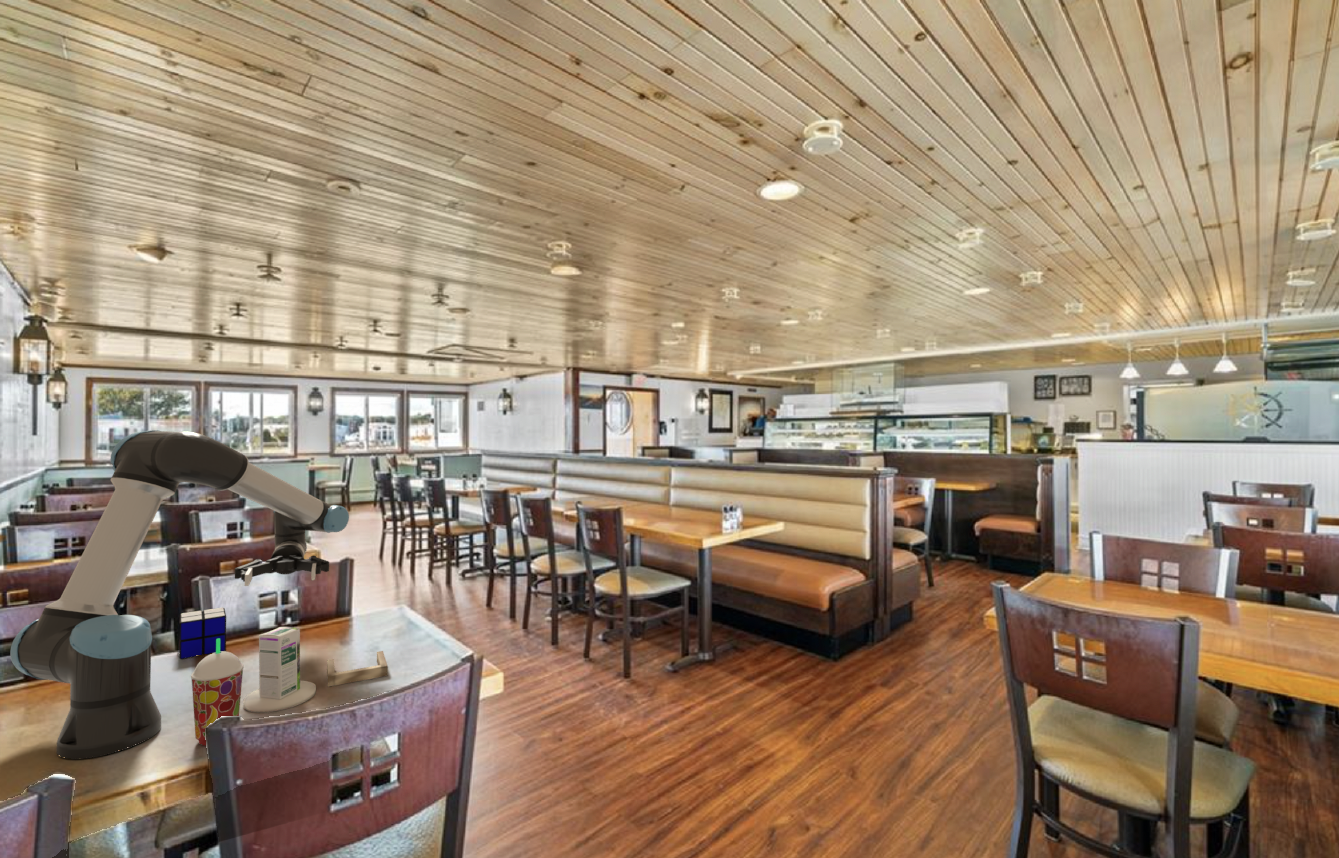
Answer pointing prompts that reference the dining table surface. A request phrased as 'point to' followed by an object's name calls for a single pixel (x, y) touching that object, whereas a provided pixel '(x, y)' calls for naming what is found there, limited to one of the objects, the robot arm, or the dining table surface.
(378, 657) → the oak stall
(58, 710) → the dining table surface
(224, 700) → the smoothie
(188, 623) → the puzzle cube
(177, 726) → the dining table surface
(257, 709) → the ceramic plate
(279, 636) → the syrup box
